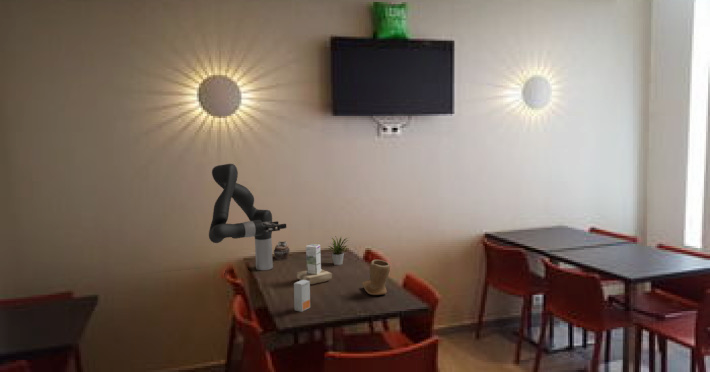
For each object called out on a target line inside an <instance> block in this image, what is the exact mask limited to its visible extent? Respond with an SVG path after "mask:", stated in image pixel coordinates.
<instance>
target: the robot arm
mask: <svg viewBox="0 0 710 372" xmlns="http://www.w3.org/2000/svg"><path fill="white" fill-rule="evenodd" d="M238 173H239V172H238V168H237V166H236V165H235V164H234V163H226V164H219V165H216V166H214V167H213V168H212V170H211V175H212V179H213V180H214V181H215V182H216V184H217V185H218V186H220V188H222V189H223V190H222V192H221V193H220V194H219V196H218V197H217V199H215V202H214V205H213V206H214V207H213V213H212V219H211V223H210V227H209V230H208V239H209V240H210V242H212V243H213V244H219V243H222V241H224V240H225V239H227V238H231V239H233V240H234V239H243V238H244V239H245V238H253V237H254V250H255V269H256V270H257V271H268V270H271V269H273V268H274V265H273V243H272V242H273V241H272V240H273V239H272V233H273V232H278V231H281V230H283V229H287V223H281V224H279V221H278V220H277V221H276V220H275V221H273V215H272V212H271V210H268V209H258V208H256V207H255V206H254V204H255V197H254V195H253V194H252V192H251V191H250V190H249V188H248V187H246V186H244V185H242V184H241V183H238V178H239V177H238V176H239V174H238ZM231 200H233V201H234V203H236V205H237V206H239V208H240V209H241V210H242V211H243V213H244V214H245V216H247V218H248V220H249V221H244V222H238V223H227V221H228V219H229V213H230V206H231Z"/></svg>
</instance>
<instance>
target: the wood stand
mask: <svg viewBox="0 0 710 372" xmlns="http://www.w3.org/2000/svg"><path fill="white" fill-rule="evenodd" d="M296 278H297V279H299V280H300V281H301V280H307V281H310V286H312V285H315V284H316V285H317V284H321V283H324V282H328V281H329V280H332V279H333V273H332V272H330V271H327V270H324V269H322V268H321V272H320V273H319V274H317V275H316V274H307V269H306V270H302V271H297V272H296Z"/></svg>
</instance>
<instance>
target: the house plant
mask: <svg viewBox="0 0 710 372" xmlns="http://www.w3.org/2000/svg"><path fill="white" fill-rule="evenodd" d="M349 238H350V237H346V238H344V239H343V240H342V236H340V237H339V239H338V238H337V236H336V235H335V238H333V237H331V240H332V241H333V242H331V245H332V246H329V245H328V247H329V248H328V250H330V251H332V252H331V257H332V258H331V259H332V263H333V265H334V266H341V265H343V261H344V254H345V250H346V249H347V246H348V244H347V245H345V244H346V242H349V240H347V239H349ZM335 239H336V240H335ZM343 251H344V252H343Z"/></svg>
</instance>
